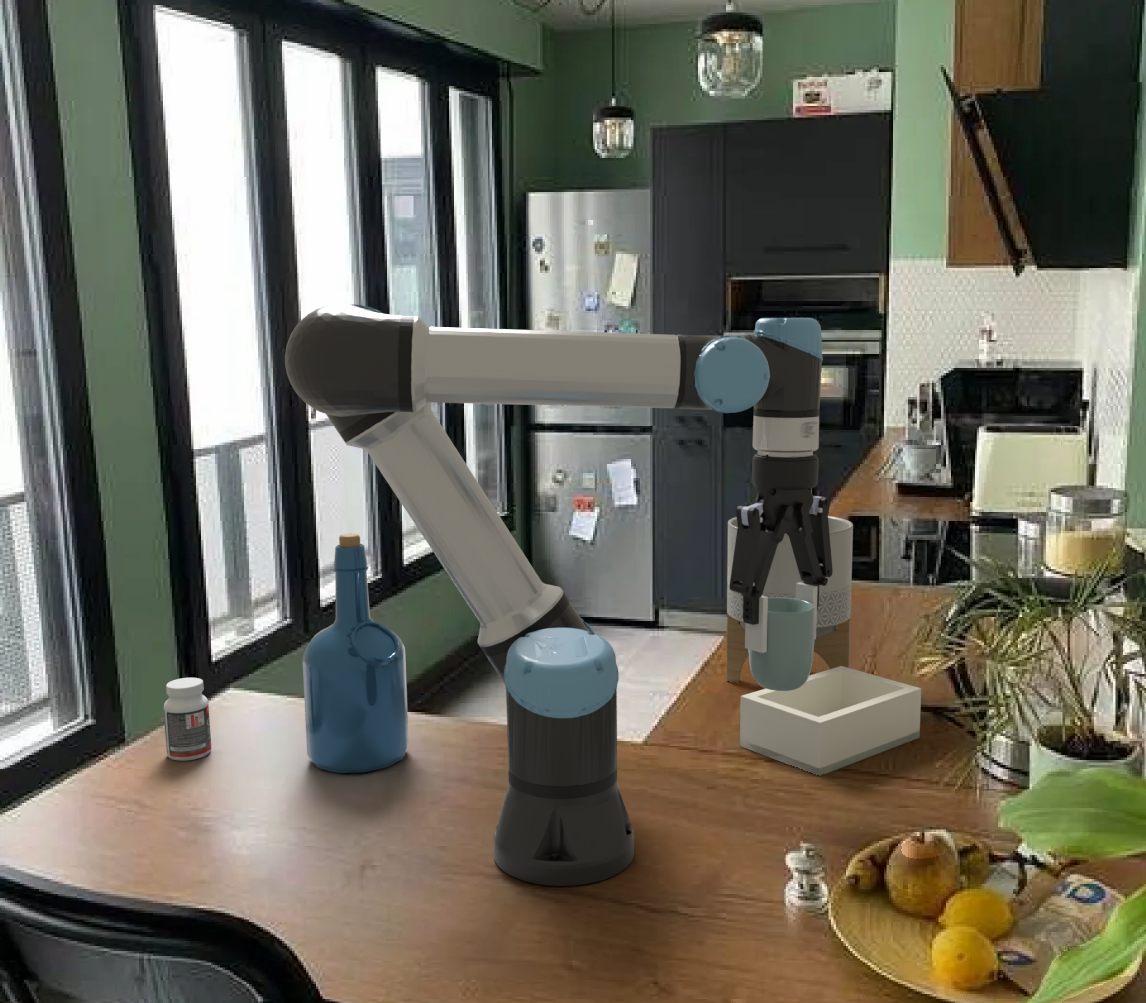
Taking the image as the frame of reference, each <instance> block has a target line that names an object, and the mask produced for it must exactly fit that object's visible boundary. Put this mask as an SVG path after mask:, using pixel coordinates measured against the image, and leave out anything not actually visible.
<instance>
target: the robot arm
mask: <svg viewBox="0 0 1146 1003" xmlns="http://www.w3.org/2000/svg"><path fill="white" fill-rule="evenodd" d="M822 341H823V338H822V329H821V325H820V323H819V322H818V320H817V319H815V318H813V317H761V318H759V319H758V320H756V322H755V328H754V330H753V334H746V335H709V334H708V335H703V334H701V335H699V334H698V335H697V334H696V335H692V334H691V335H689V334H686V335H685V334H677V335H676V334H663V333H662V334H657V333H634V332H633V333H630V332H624V333H623V332H598V331H570V330H568V331H567V330H566V331H565V330H544V329H543V330H539V329H535V330H534V329H514V328H513V329H511V328H510V329H506V328H480V327H479V328H477V327H476V328H475V327H474V328H473V327H448V326H447V327H444V326H430V325H428V324H427V323H426V322H424V320H422V318H421V317H419V316H418V315H398V314H389V313H388V314H387V313H383V312H381V311H380V310H378V309H375V308H373V307H371V306H368V305H367V306H366V305H362V304H345V303H343V304H341V303H340V304H339V303H338V304H330V305H325V306H323V307H319V308H317V309H315V310H313V311H311V312H309V313H308V314H307V315H306V316H304V317H303V318H302V319H301V320H300V321H299V322H298V323H297V324H296V325H295V327H294V328H293V330H292V332H291V333H290V336H289V338H288V341H287V343H286V348H285V354H284V365H285V369H286V375H287V378H288V380H289V383H290V385H291V386H292V388H293V390H294V393H296V394H297V396H298V397H299V398H300V399H301V400H302V402H304V403H305V404H307V406H310V407H311V408H312V409H313V410H315V411H317V412H319V413H322V414H325V415H326V416H327V417H328V419H329V421H330V423H331V424H332V425H333V427H334V428H335V430H336V431H337V433H338V434H339V436H340V438H341V439H342V440H343V441H344V443H345V445H347V446H349V447H353V448H357V449H362V450H364V451H366V452H367V453H368V455H369V456H370V458H371V459H372V462H374V464H375V465H376V467H377V469H378V470H379V471H380V473H381V475H382V477H383V478H384V479H385V480H386V482H387V484H388V485H389V487H390V488H391V490H392V491H393V493H394V494H395V496H396V497H397V499H398V501H399V502H400V503H401V505H402V506H403V508H404V509H405V512H407V514H408V515H409V517H410V519H411V520H412V522H413V523H414V525H415V526H416V528H417V529H418V531H419V532H420V534H421V536H423V539H424V540H425V541H426V543H427V544H428V546H429V547H430V549H431V551H432V552H433V553H434V555H435V557H436V558H437V560H438V561H439V563H440V565H441V566H442V567H443V569H444V571H445V572H446V573H447V575H448V576H449V578H450V579H451V581H452V583H453V584H454V585H455V587H456V588H457V590H458V592H459V593H460V595H461V596H462V597H463V599H464V601H465V602H466V604H467V606H468V607H469V608H470V610H471V611H472V612H473V614H474V616H475V617H476V618H477V620H478V622H479V623H480V627H479V632H478V638H477V644H478V645H479V647H480V649H481V650H482V652H483V654H484V655H485V656H486V658H487V659H488V661H489V663H491V666H492V667H493V669H494V670H495V671H496V673H497V675H498V676H499V677H500V679H501V681H502V683H503V684H504V686H505V697H506V698H505V700H506V701H505V702H506V721H507V722H506V724H507V727H506V728H507V732H506V733H507V734H506V735H507V768H508V769H507V770H508V771H507V772H508V773H507V774H508V783H507V784H508V786H507V789H506V793H505V796H504V800H503V804H502V807H501V811H500V815H499V818H498V822H497V825H496V826H495V830H494V832H493V838H492V839H493V840H492V841H493V842H492V844H493V845H492V846H493V860H494V861H495V864H496V865H497V866H498V867H499V868H500V870H502V871H503V872H504V873H506V874H507V875H509V876H511V877H513V878H516V879H518V880H521V881H523V882H527V883H530V884H531V883H532V884H535V885H543V886H552V887H553V886H554V887H559V886H560V887H567V886H568V887H569V886H580V885H581V886H582V885H587V884H592V883H593V884H594V883H597V882H601V881H604V880H607V879H609V878H612V877H614V876H616V875H617V874H619V873H621V872H623V871H624V870H625V869H626V868H628V867H629V865H630V864H631V863H632V861H633V859H634V856H635V834H634V829H633V826H632V824H631V821H630V817H629V814H628V812H627V809H626V805H625V803H624V799H623V797H622V793H621V791H620V788H619V785H618V712H617V711H618V703H617V700H618V696H617V695H618V694H617V689H618V684H619V678H620V677H619V676H620V673H619V668H618V665H617V658H616V657H617V656H616V652H615V650H614V648H613V646H612V645H611V643H610V642H609V641H608V640H606V639H605V638H604V637H603V636H601V635H599V634H596V633H595V631H594V629H592V627H591V626H590V624H588V623H587V622H585V620H584V619H583V618H582V617H580V615H579V613H578V612H577V610H576V608H574V606H573V604H572V602H571V601H570V599H569V598H568V596H567V595H566V593H565V592H564V590H563V589H562V588H561V587H560V586H558V585H557V586H556V585H553V584H547V583H546V582H543V581H542V580H541V578H540V576H539V575H538V574H537V572H536V571H535V569H534V567H533V566H532V565H531V563H530V562H529V559H528V558H527V557H526V555H525V554H524V552H523V550H522V549H521V547H520V546H519V544H518V542H517V541H516V540H515V538H514V537H513V535H512V534H511V532H510V530H509V529H508V527H507V526H506V524H505V522H504V521H503V520H502V517H501V516H500V515H499V513H498V512H497V510H496V509H495V507H494V505H493V504H492V502H491V501H490V499H489V498H488V496H487V495H486V493H485V492H484V490H483V488H482V487H481V485H480V483H479V482H478V481H477V479H476V478H475V476H474V474H473V473H472V471H471V469H470V468H469V466H468V465H467V463H466V461H464V459H463V457H462V456H461V454H460V452H459V451H458V449H457V447H456V446H455V445H454V443H453V442H452V440H451V438H450V437H449V435H448V434H447V432H446V431H445V429H444V428H443V426H442V424H441V423H440V422H439V420H438V418H437V417H436V415H435V414H434V412H433V411H432V403H436V404H437V403H439V404H443V403H444V404H476V405H477V404H479V405H480V404H482V405H483V404H485V405H523V406H524V405H526V406H527V405H528V406H529V405H531V406H532V405H533V406H561V407H562V406H563V407H564V406H568V407H570V406H571V407H605V408H606V407H607V408H610V407H611V408H612V407H613V408H614V407H615V408H646V409H647V408H649V409H651V408H653V409H654V408H655V409H679V410H702V411H703V410H705V411H707V410H708V411H711V410H712V411H716V412H717V413H722V414H730V413H731V414H732V413H734V414H735V413H740V412H743V411H746V410H748V409H750V408H752V407H753V422H752V424H753V425H752V448H753V449H754V450H756V451H757V453H755V454H754V456H752V470H751V471H752V473H751V475H752V476H751V478H752V479H751V481H752V484H753V485H754V486H755V487H756V489H757V495H756V498H755V501H754V503H753V504H751V505H748V506H745V505H738V506H737V508H736V511H735V512H736V513H735V514H736V517H737V524H738V528H737V535H736V543H735V550H734V557H733V564H732V571H731V579H730V590H731V591H735V592H737V593H740V594H742V595H743V621H744V623H745V648H746V649H750V650H753V651H757V652H760V653H765V652H767V613H768V597H765V596H762V594H763V591H764V588H765V584H766V581H767V578H768V575H769V571H770V568H771V565H772V562H773V558H774V555H775V552H776V549H777V546H778V543H780V542H781V541H782V540H783V537H784V534H787V535H788V536H789V539H790V542H791V546H792V549H793V553H794V556H795V560H796V563H797V567H798V570H799V574H800V577H801V580H802V581H804V583H801V582H799V583H796V599H802V600H806V601H809V602H811V603H812V604H814V606H815V639H816V621H817V609H818V606H819V585H822V586H825V585H826V584H827V582H828V578H825V577H831V576H832V573H833V569H832V557H831V546H830V534H829V522H828V516H829V514H830V512H829V511H830V505H831V499H830V498H829V497H825V496H818V495H813V492H812V489H813V488H815V487H816V486H817V485H818V483H819V466H820V465H819V464H820V461H819V457H818V455H817V454H815V453H814V452H816V451H817V450H818V449H819V448H820V447H819V445H820V444H819V442H820V439H819V437H820V436H819V435H820V434H819V433H820V411H821V410H820V404H821V402H820V401H821V385H822V383H821V382H822V364H823V360H824V356H823V345H822V344H823V342H822ZM766 530H768V532H765V531H766ZM820 563H821V564H823V566H820ZM753 583H755V586H753Z"/></svg>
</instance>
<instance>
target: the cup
mask: <svg viewBox="0 0 1146 1003" xmlns="http://www.w3.org/2000/svg"><path fill="white" fill-rule="evenodd" d="M814 642H815V606H814V604H812V603H811V602H809V601H806V600H802V599H796V598H785V597H768V613H767V652H765V653H760V652H757V651H753V650H750V649H748V654H749V656H748V662H749V663H748V664H749V668H750V673H751V675H752V678H753V680H754V681H755V682H756V683H757V684H758V685H759V686H760V687H762V688H763V689H769V690H775V691H791V690H795V689H798V688H800V687H801V686H803V685H804V684H805V683H806V681H807V679H808V677H809V675H811V671H812V668H813V667H812V666H813V662H814V654H815V652H814Z"/></svg>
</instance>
